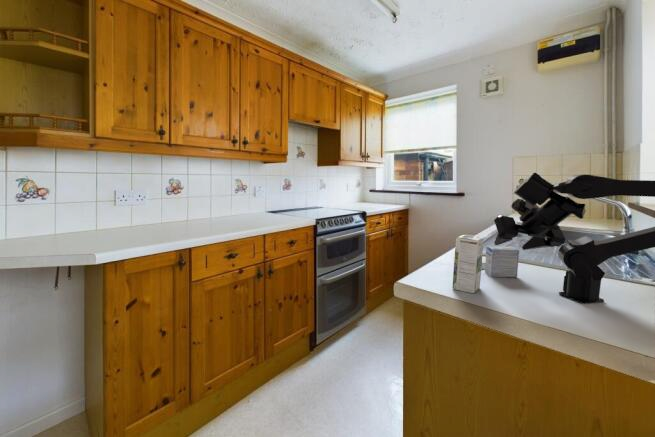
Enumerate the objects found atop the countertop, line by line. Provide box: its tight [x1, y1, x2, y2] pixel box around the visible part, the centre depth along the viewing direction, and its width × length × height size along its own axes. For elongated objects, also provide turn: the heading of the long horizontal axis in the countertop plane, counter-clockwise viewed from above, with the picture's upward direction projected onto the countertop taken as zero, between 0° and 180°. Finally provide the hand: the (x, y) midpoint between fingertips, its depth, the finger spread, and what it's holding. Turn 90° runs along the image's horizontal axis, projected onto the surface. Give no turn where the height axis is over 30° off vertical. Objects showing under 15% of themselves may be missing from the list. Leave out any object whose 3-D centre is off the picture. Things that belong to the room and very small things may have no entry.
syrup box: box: [452, 234, 485, 294], centre depth 82 cm, size 6×6×14 cm
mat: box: [481, 262, 485, 271], centre depth 103 cm, size 6×10×1 cm, turn 101°
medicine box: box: [484, 246, 520, 278], centre depth 94 cm, size 8×4×9 cm, turn 84°
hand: (509, 246), depth 90 cm, fingers open, 9 cm apart
